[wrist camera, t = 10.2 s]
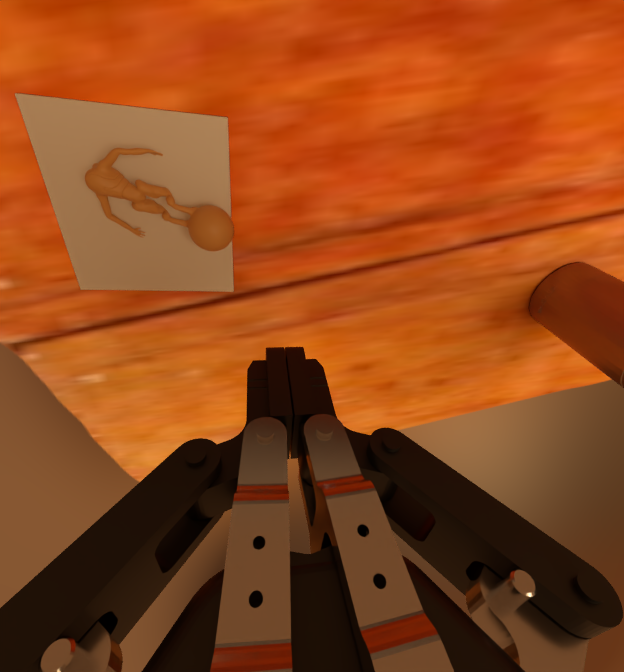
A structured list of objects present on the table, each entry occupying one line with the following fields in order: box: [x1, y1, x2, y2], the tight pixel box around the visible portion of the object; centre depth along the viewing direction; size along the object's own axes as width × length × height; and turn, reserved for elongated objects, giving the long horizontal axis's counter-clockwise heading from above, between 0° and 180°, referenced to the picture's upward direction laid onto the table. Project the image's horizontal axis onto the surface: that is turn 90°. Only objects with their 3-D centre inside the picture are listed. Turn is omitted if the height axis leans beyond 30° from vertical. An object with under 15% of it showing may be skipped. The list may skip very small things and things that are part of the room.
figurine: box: [85, 148, 234, 251], centre depth 28 cm, size 8×6×12 cm
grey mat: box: [15, 93, 234, 292], centre depth 30 cm, size 15×16×1 cm
